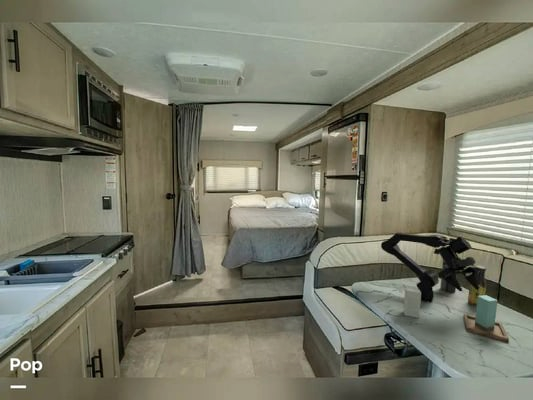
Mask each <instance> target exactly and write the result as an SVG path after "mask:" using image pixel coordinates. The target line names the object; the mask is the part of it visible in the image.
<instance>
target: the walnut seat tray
mask: <svg viewBox="0 0 533 400" xmlns="http://www.w3.org/2000/svg"><path fill="white" fill-rule="evenodd" d="M475 318H476V315H471V314H466V313H463V321H464V325H465V330H466V332H469V333H472V334H476V335H480V336H484V337H487V338H491V339H495V340H498V341H503V342H505V343H509V341H510V337H509V335H508V333H507V332H506V329H505V327H504V325H503V323H502V322H498V321H496V320H495V327H494V330H490V331H485V330H483V329H481V328H479V327H478V326H476V325H475Z"/></svg>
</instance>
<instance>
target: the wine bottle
mask: <svg viewBox="0 0 533 400" xmlns="http://www.w3.org/2000/svg"><path fill="white" fill-rule="evenodd" d="M455 239H456V238H453V237H449V239H448V240H451V241H453V240H455ZM454 254H455V255H456V257H457V258H460V257H459V254H458V253H454ZM443 263H444V261H443V260H442V266H441V267H442V268H441V270H442V269H444V268H448V267H447V265H444V264H443ZM456 279H457V280H458V274H456ZM440 289H441V290H443V291H444V292H446V293H456V290H457V289H456V288H455V287H454V286H452V285H451V284H449V283H448V282H447V281H445V280H443V278H441V279H440Z"/></svg>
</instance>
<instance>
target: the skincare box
mask: <svg viewBox="0 0 533 400" xmlns="http://www.w3.org/2000/svg"><path fill="white" fill-rule="evenodd" d="M403 299H404V301H403V313H404V316H406V317H412V318H417V319H418V318H420V316H421V315H420V314H421V301H422V300H421V292H420V290H419V289H418V288H413V287H406V286H404V298H403Z"/></svg>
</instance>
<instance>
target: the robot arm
mask: <svg viewBox="0 0 533 400" xmlns="http://www.w3.org/2000/svg"><path fill="white" fill-rule="evenodd" d="M454 239H455V240H453V241H451V240H449V239H447V238H445V237H444V236H443V235H442V234H426V235H422V234H413V233H406V232H401V231H400V232H397V233H395V234H393V236H391V237H390V238H388V239H387V240H383V241H382V242H381V244H380V247H381V249H382V251H384V252H385V253H388V254H389V255H392V256H394V257H396V259H397V260H399V261H400V262H401V263H402V264H403V265H404V266H405V267H407V268H408V269H409V270H410V271H412V272H413V273H414V274H415V275H416V277H417V278H418V280H419V282H417V283H416V286H417V289H419V290H420V292H421V301H424V302H427V303H433V300H434V294H435V293H434V290H433V287H435V286H437V285H438V284H439V282H440V280H441V278H443V280H445V281H447V282H448V283H449V284H451V285H452V286H454V287H455V288H456V290H457V291H459V292H463V288H462V286H461V284H460V282H459V281H458V278H457V279H456V274H457V275H463V276H464V279H466V281H467V282H468V283H469V285H470V284H471V285H472V286H473V287H474V288H475V289H476V290H478V289H479V287H478V282H477V274H479V272H480V270H479V268H478V267H476V266H477V265H474V264H476V260H475V258H474V257H472V256H467V257H465V258H463V259H462V258H461V257H459V258H457V257H456V255H455V254H454V253H456V254H457V255H461V254H463V253H465V252H467V251H469V250H471V249H472V247H473V246H472V245H471V243H470V242H469V241H468V240H466V239H465V238H463V236H462V235H459V236H458V237H455V238H454ZM401 241H403V242H410V243H418V244H423V245H425V246H429V247H432V248H435V249H434V251H433V254H435V255H440V257H441V259H442V265H443V264H444V265H447V267H448V268H444V269H442V268H441V270H439V271H438V272H437V273H435V272H434V271H432V269H431V268H428V269H425V268H424V267H422V266H420V264H419V263H417V262H416V261H415V260H413V259H412V258H411V257H410V256H408V255H407V254H406V253H405V252H403V251H402V250H401V249H400V247H399V245H398V244H399V243H400V242H401ZM443 261H444V263H443Z"/></svg>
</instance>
